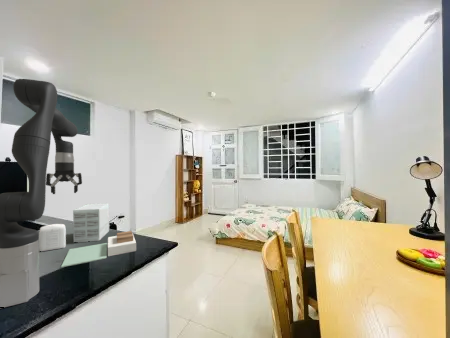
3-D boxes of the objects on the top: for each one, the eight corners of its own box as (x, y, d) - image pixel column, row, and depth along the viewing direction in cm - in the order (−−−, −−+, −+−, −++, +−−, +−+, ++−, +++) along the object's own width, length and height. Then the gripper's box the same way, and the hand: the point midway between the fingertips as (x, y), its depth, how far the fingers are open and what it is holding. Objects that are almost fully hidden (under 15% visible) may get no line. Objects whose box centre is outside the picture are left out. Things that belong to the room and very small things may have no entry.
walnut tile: (133, 240, 100) (133, 235, 100) (117, 243, 96) (117, 238, 96) (131, 235, 108) (131, 230, 108) (116, 237, 104) (116, 233, 104)
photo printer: (66, 245, 105) (66, 221, 104) (65, 248, 101) (65, 223, 101) (40, 249, 99) (39, 225, 99) (38, 252, 95) (37, 227, 95)
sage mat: (106, 258, 89) (106, 257, 89) (61, 267, 81) (61, 266, 81) (107, 243, 107) (107, 242, 107) (69, 249, 98) (69, 249, 98)
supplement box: (86, 232, 124) (85, 204, 124) (109, 231, 127) (109, 203, 127) (72, 243, 107) (72, 210, 107) (99, 240, 111) (99, 208, 111)
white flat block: (136, 250, 97) (136, 242, 97) (107, 256, 91) (107, 247, 91) (132, 240, 111) (132, 233, 111) (108, 244, 105) (108, 237, 105)
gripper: (44, 161, 95) (44, 195, 95) (81, 161, 102) (81, 193, 102) (48, 161, 101) (48, 193, 101) (82, 162, 109) (82, 191, 109)
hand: (64, 193), depth 102 cm, fingers open, 8 cm apart
